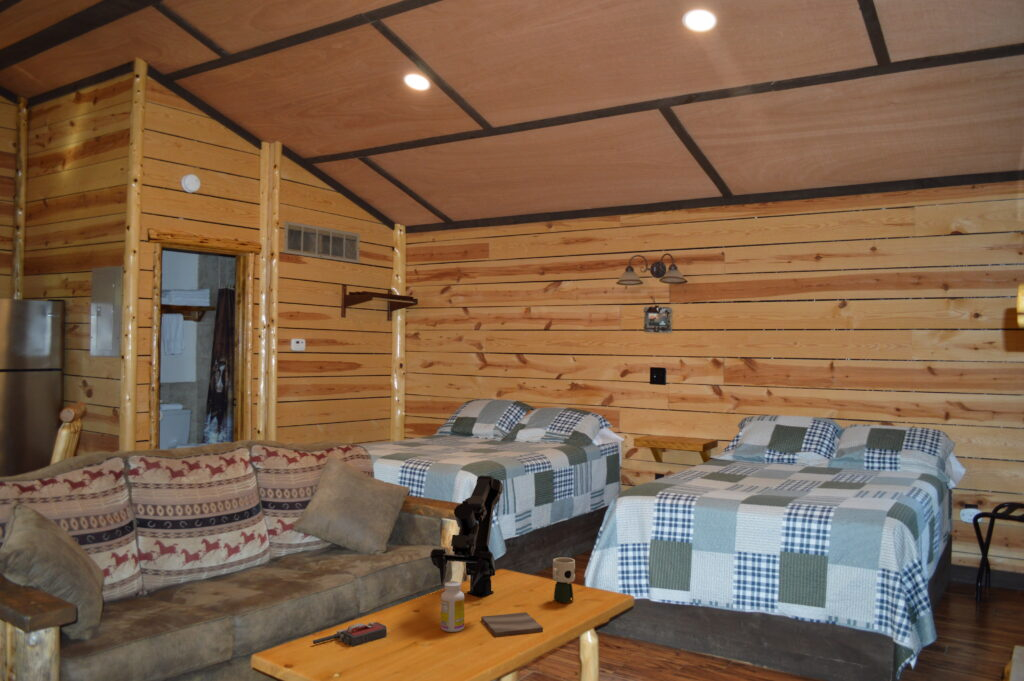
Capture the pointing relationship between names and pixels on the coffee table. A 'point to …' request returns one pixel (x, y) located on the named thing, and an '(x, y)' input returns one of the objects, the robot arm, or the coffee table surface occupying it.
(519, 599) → the coffee table surface
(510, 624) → the walnut board
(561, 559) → the character mug
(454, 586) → the supplement bottle
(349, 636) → the walkie-talkie
